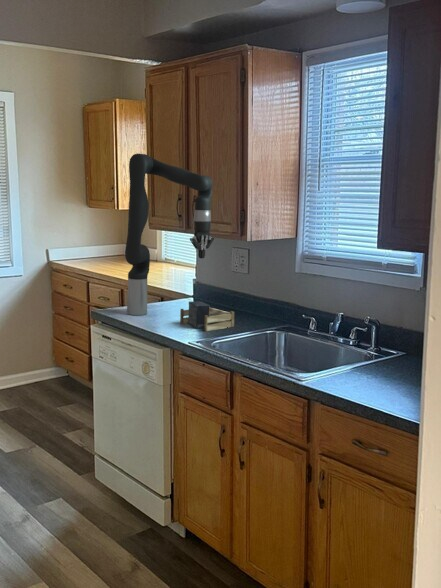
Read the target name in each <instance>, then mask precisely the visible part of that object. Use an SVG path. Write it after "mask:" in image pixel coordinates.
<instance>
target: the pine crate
mask: <svg viewBox="0 0 441 588" xmlns="http://www.w3.org/2000/svg"><path fill="white" fill-rule="evenodd" d="M188 315H189V309H184V308H180V314H179V316H180V317H179V318H180V319H179V320H180V321H179V323H180V324H181V325H185V324H188ZM185 316H186V317H185ZM208 323H209V325H208ZM227 327H228V328H234V327H235V311H224V310H221V309H217V308H214V307H211V306H210V305H209V317H208V315H205V328H203V330H204V332H209V331H217V330H221V329H223V330H224V329H227Z"/></svg>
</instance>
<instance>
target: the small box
mask: <svg viewBox="0 0 441 588" xmlns="http://www.w3.org/2000/svg"><path fill="white" fill-rule="evenodd" d="M209 306H210V304H209V303H208V304H207V303H205V302H203V301H197V300H196V301H188V310H189V315H188V316H187V317H188V323H187V324H188V325H189V326H191V327H192V328H193V329H196V330H197V329H204V328H205V315H208V317H209V315H210V313H209ZM209 324H210V323H208V325H209Z"/></svg>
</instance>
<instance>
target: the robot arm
mask: <svg viewBox="0 0 441 588" xmlns="http://www.w3.org/2000/svg"><path fill="white" fill-rule="evenodd" d="M128 173H129V194H128V196H129V199H128V201H129V202H128V215H127V216H128V217H127V218H128V220H127V221H128V222H127V235H126V237H127V238H126V243H125V250H124V256H125V257H124V258H125V260H126V262H127V263H128V264H129V265H130V266H131V265H132V267H131V269H130V270H129V271H128V272H127V294H126V313H127V314H128V315H132V316H143V315H147V314H148V276H149V273H150V272H149V271H150V265H151V264H150V263H151V255H150V250H149V248H148V247H147V245H145V244H143V243H142V235H143V231H144V229H145V227H146V225H147V221H148V220H149V219H148V218H149V207H150V205H149V197H148V193H147V191H146V185H145V183H146V182H145V180H146V175H155V176H158V177H160V178H161V177H162V178H164V179H166V180H167V181H170V182H172V183H175V184H179V185H181V186H185V187H188V188H190V189H193V190H194V191H198V192H197V197H196V198H195V201H194V202H195V203H194V216H193V217H194V218H193V230H194V234H193V236H192V237H190V238H189V242H190V243H191V244H192V246H193V247H194V249H196V250H198V251H197V252H198V258H199V259H205V257H206V250H207V249H209V248H210V246H211V245H212V243H213V242H214V240H215V237H212V236H211V233H210V232H211V229H212V228H211V225H212V222H211V221H212V211H211V206H212V205H211V202H212V201H211V200H212V196H213V191H212V185H213V186H214V181H213V179H212V177H211V176H209V175H201V174H198V173H195V172H192V171H190V170H189V169H184V168H183V167H182V168H181V167H178V166H174V165H170V164H167V163H165V162H162V161H160V160H158V159H156V158H154V157H152V156H150V155H149V154H145V153H134V154H132V156H131V157H130V158H129V161H128ZM212 181H213V182H212Z"/></svg>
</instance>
